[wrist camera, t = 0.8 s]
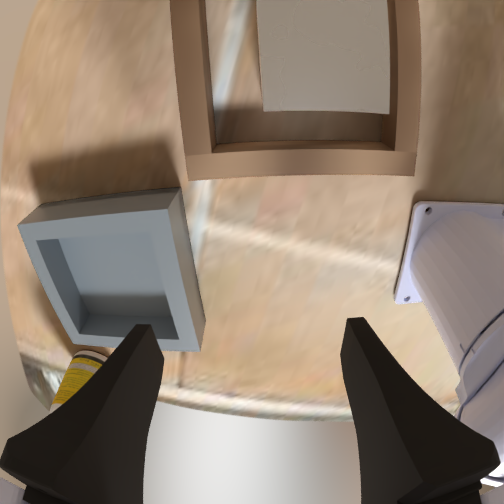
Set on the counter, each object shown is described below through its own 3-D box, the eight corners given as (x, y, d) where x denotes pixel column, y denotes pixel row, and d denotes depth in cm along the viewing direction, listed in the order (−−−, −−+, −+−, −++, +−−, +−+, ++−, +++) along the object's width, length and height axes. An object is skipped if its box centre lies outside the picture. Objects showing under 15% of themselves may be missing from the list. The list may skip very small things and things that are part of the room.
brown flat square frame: (398, -27, 10) (414, -35, 9) (399, 164, 16) (414, 176, 15) (177, -31, 11) (167, -42, 9) (195, 168, 17) (188, 181, 15)
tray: (180, 186, 18) (167, 209, 15) (205, 320, 23) (200, 351, 21) (41, 204, 18) (17, 224, 16) (86, 317, 24) (73, 343, 21)
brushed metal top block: (336, 24, 12) (386, -2, 7) (338, 95, 15) (389, 114, 9) (257, 22, 13) (255, -11, 7) (261, 95, 15) (263, 111, 9)
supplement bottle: (65, 347, 26) (28, 429, 18) (107, 348, 26) (72, 440, 17) (91, 380, 29) (64, 457, 21) (132, 382, 28) (108, 467, 20)
